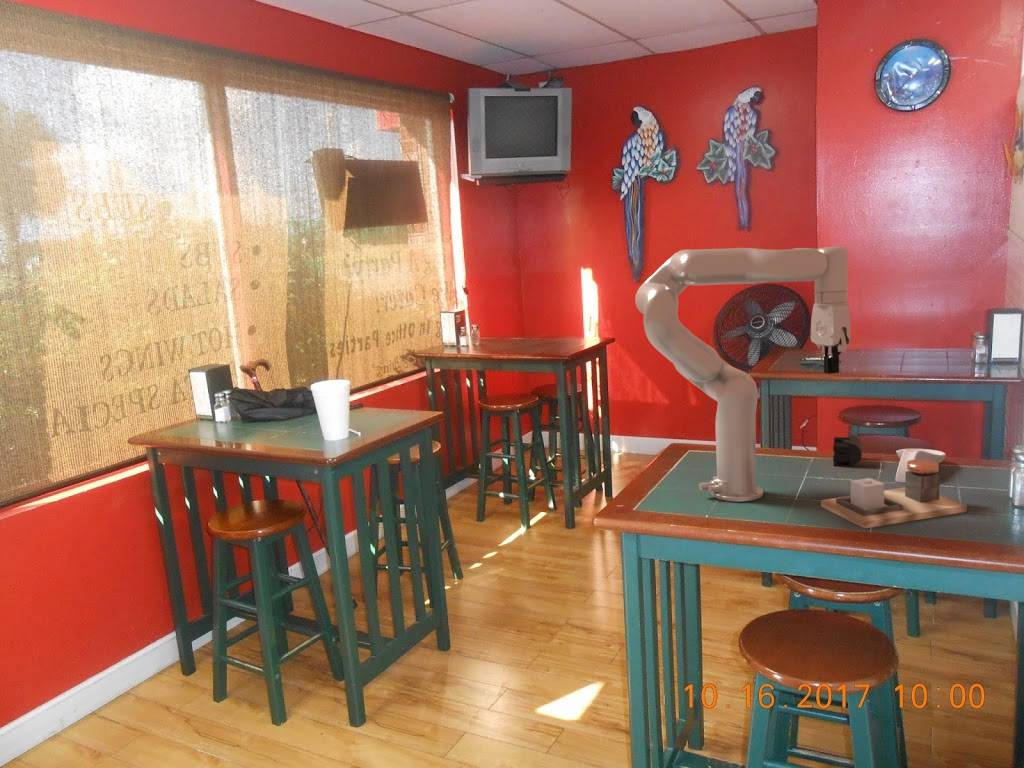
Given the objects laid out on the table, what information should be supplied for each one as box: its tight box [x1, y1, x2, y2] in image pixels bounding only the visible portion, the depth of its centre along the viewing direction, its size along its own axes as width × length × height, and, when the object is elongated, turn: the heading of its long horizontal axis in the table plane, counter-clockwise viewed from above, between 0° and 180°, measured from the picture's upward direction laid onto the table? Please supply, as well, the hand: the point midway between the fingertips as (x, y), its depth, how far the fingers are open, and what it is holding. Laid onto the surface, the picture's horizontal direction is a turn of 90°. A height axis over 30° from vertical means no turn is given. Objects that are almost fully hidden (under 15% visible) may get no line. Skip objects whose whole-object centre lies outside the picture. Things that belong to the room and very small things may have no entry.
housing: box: [850, 477, 885, 510], centre depth 185 cm, size 5×5×6 cm
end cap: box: [832, 434, 863, 468], centre depth 223 cm, size 10×7×7 cm
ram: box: [907, 459, 939, 476], centre depth 187 cm, size 6×6×7 cm
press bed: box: [820, 471, 968, 529], centre depth 186 cm, size 26×16×8 cm, turn 103°
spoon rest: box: [894, 448, 947, 484], centre depth 212 cm, size 24×12×7 cm, turn 144°
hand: (831, 372), depth 200 cm, fingers closed
